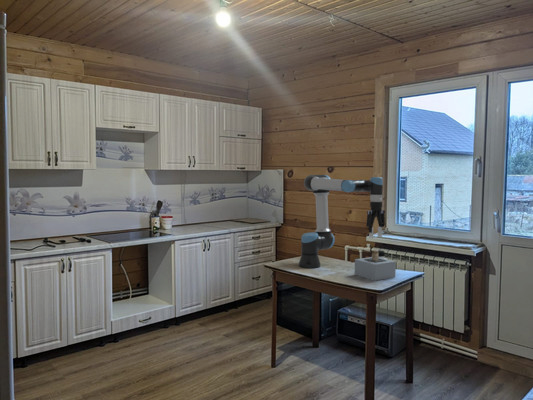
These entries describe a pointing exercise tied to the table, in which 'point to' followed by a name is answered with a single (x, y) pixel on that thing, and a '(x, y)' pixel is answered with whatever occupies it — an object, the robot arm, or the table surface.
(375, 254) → the peg
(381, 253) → the container
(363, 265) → the socket block
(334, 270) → the table surface
